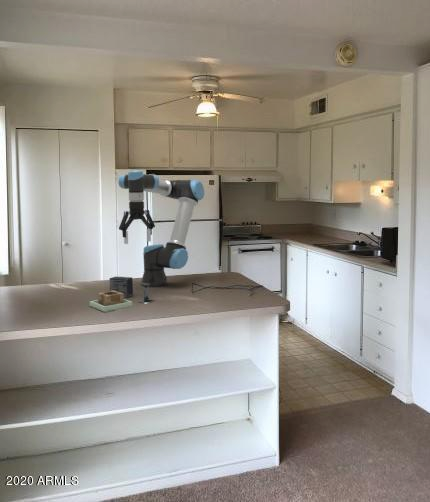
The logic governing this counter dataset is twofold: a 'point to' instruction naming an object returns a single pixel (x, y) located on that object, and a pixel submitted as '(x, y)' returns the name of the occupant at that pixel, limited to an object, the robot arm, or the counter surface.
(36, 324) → the counter surface
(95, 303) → the tray
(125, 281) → the small box
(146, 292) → the dark grey knobbed stand
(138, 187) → the robot arm
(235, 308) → the counter surface
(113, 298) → the collar
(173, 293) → the counter surface
